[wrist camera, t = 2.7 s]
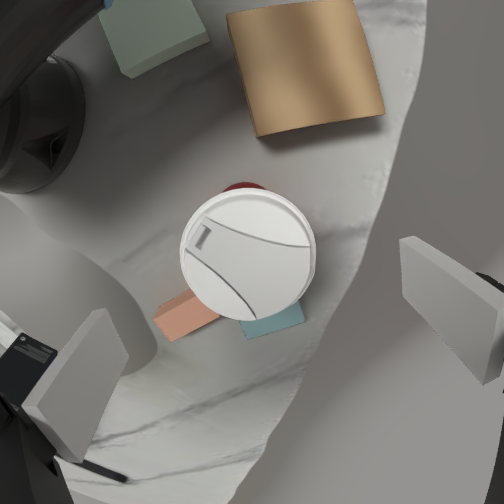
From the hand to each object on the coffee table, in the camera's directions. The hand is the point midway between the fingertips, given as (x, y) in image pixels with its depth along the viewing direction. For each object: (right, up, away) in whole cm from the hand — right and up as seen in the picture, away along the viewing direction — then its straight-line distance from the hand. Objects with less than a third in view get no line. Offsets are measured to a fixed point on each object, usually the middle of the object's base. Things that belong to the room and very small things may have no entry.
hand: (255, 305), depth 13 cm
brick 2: (+2, -3, +20) cm, 21 cm away
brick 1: (-7, -3, +20) cm, 21 cm away
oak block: (+4, +19, +13) cm, 23 cm away
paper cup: (-1, +6, +17) cm, 18 cm away
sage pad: (-9, +23, +11) cm, 27 cm away
